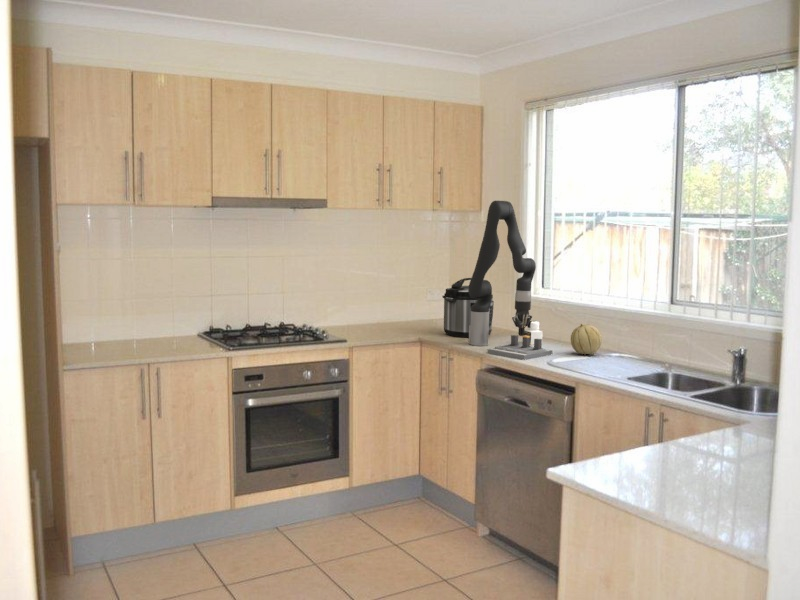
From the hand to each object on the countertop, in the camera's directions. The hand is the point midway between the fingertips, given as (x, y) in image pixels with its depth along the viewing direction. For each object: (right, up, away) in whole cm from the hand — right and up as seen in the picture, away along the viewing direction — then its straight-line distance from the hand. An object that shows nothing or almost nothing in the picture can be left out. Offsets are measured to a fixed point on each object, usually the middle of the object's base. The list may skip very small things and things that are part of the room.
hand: (521, 335), depth 363 cm
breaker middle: (+3, -6, +3) cm, 8 cm away
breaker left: (-2, -6, +8) cm, 10 cm away
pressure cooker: (-20, -3, +58) cm, 62 cm away
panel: (-1, -9, 0) cm, 9 cm away
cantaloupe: (+31, -9, +1) cm, 33 cm away
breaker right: (+8, -7, -2) cm, 11 cm away
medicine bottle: (+11, -6, +30) cm, 32 cm away
